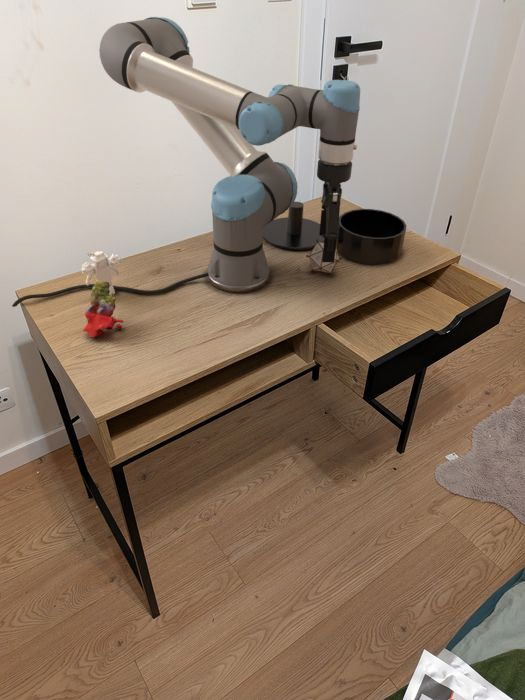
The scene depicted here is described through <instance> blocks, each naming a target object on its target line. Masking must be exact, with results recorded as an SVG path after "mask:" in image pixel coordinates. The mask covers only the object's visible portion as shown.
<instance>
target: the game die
mask: <svg viewBox="0 0 525 700" xmlns="http://www.w3.org/2000/svg"><path fill="white" fill-rule="evenodd" d="M316 242H317V244H316V245H315V247H314V248H312V250H311V252H309V253H308V254H306V255H305V257H306V258H308V259H309V261H310V265H311V267H312V269H311V271H310V273H314V271H315V272H321V273H328V274H329V275H330V276H331V277H332V276H333V273H332V272H333V271H334V269H335V267H336V266H337V264H338V263H340V260H341V261H342V260H343V257H340V256H339V255H340V254H339V253H338V252H337V248H336V250H335V259H334V262H322V258H323V248H324V243H323V242H318V239H316ZM337 243H338V242H336V245H337Z"/></svg>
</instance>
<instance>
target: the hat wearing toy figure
mask: <svg viewBox="0 0 525 700" xmlns="http://www.w3.org/2000/svg"><path fill="white" fill-rule="evenodd" d="M86 255H87V257H89V259H90V260H91V261H92V263H91V262H87V261H86V262H83V264H82V265H81V273H82V275H85V273H86V274H87V276H86V279H85V284H87V286H88V285H89V284H91V283H92V281H93V278H94V275H95V278H96V282H97V281H103V282H108V283H109V284H110V287H109V290H110V292H109V294H108V296H110V295H111V293H113V295H115V294H116V290H115V289H114V288H113V286H114V285H113V282H112V279H113V278H112V277H113V275H116V276H117V277H118V278H120V276H121V272H120V270H119V269H118V268H117V267H119V266H121V265H120V264H121V263H122V258H121V257H119V254H114V253H112V254H111V256H110V257H109V256H108V255H107V254H106V253H105V252H104V251H101V250H97V251H92V252H88V253H87V254H86ZM108 257H109V258H108Z"/></svg>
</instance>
